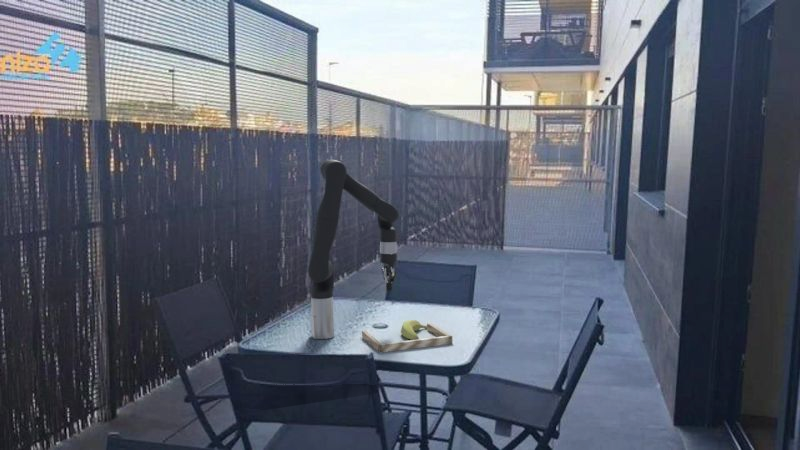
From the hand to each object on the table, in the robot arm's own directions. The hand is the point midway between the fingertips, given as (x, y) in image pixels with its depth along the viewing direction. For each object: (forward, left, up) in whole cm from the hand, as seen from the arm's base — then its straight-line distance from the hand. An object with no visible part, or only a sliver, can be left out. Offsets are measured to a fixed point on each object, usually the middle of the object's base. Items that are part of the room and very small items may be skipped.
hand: (388, 290), depth 303 cm
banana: (+8, -13, -18) cm, 23 cm away
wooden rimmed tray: (0, -20, -17) cm, 26 cm away
